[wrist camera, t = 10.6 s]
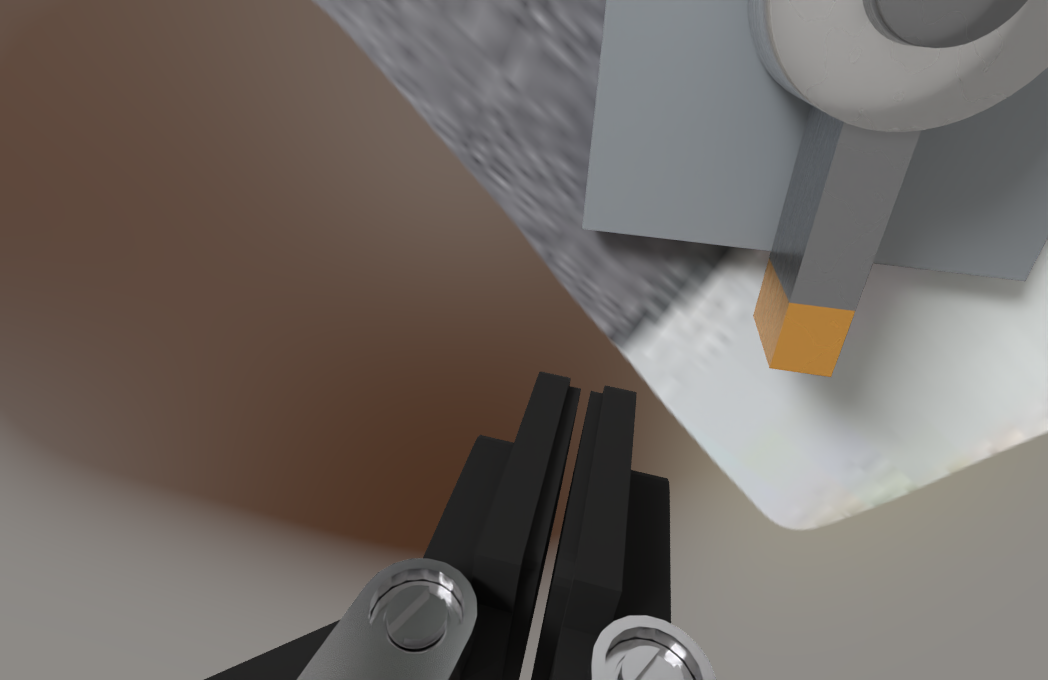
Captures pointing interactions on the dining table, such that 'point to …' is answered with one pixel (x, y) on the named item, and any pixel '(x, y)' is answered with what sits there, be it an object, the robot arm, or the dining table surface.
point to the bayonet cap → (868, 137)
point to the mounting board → (790, 150)
